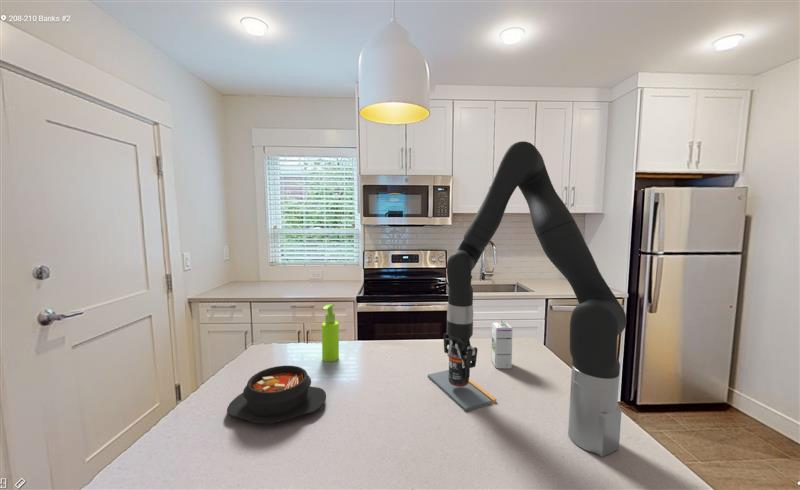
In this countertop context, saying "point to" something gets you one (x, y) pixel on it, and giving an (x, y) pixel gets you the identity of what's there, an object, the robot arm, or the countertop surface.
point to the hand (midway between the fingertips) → (458, 373)
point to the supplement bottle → (456, 369)
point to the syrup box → (501, 345)
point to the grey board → (462, 392)
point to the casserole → (277, 396)
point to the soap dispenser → (330, 336)
